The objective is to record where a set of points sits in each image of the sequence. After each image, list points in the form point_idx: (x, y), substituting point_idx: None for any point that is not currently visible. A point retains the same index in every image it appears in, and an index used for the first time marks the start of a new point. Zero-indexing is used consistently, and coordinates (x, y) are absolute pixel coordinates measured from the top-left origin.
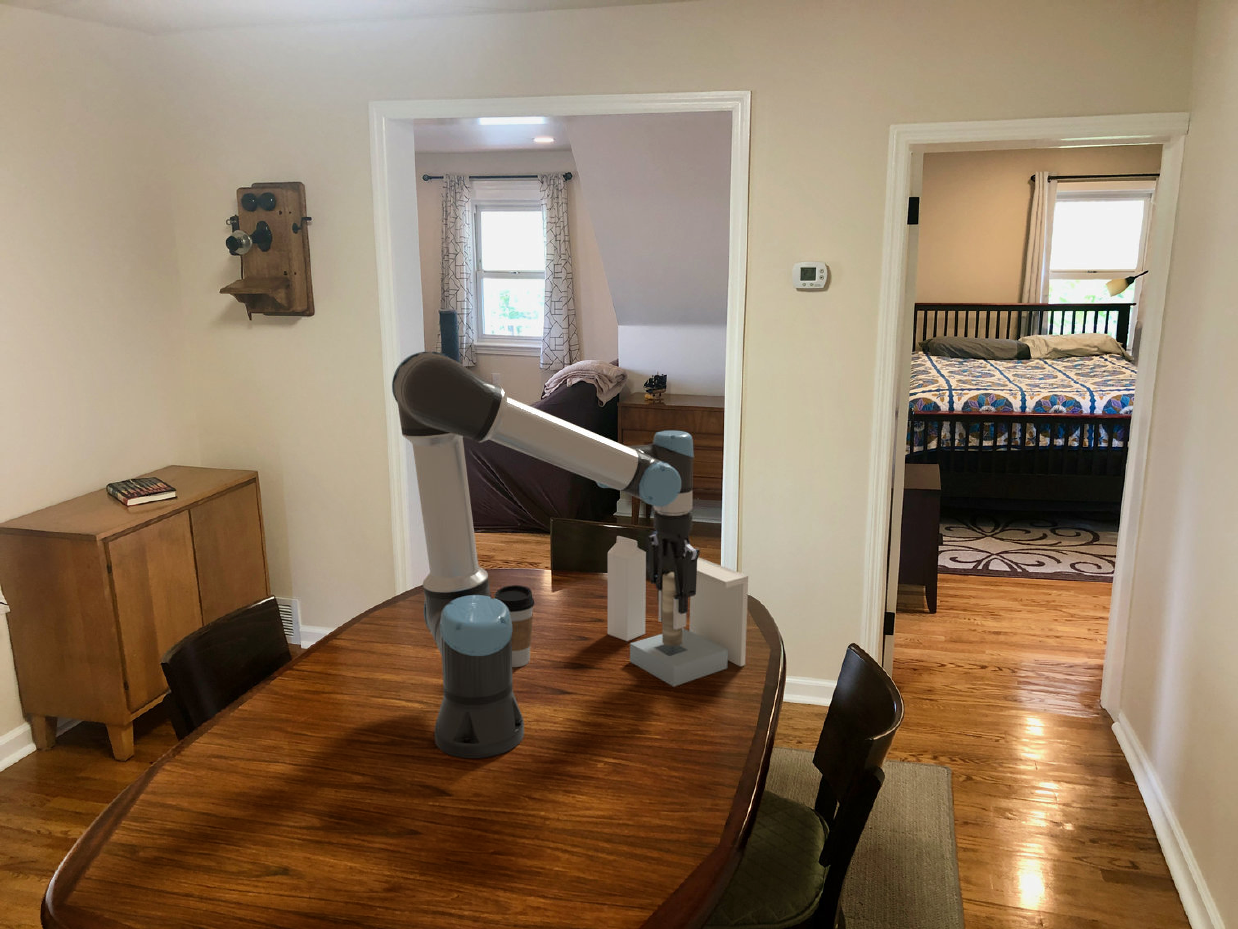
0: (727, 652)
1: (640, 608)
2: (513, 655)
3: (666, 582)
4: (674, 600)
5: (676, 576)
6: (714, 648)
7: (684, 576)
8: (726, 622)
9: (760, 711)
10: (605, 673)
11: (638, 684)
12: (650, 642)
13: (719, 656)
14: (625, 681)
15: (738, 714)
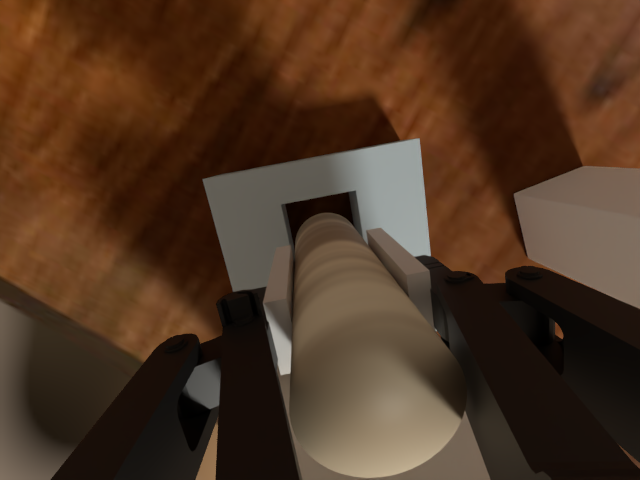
0: None
1: (587, 265)
2: None
3: (342, 313)
4: (276, 292)
5: (245, 411)
6: None
7: (100, 469)
8: None
9: (29, 296)
10: (367, 37)
11: (266, 94)
12: (394, 200)
13: None
14: (297, 68)
15: (27, 244)
